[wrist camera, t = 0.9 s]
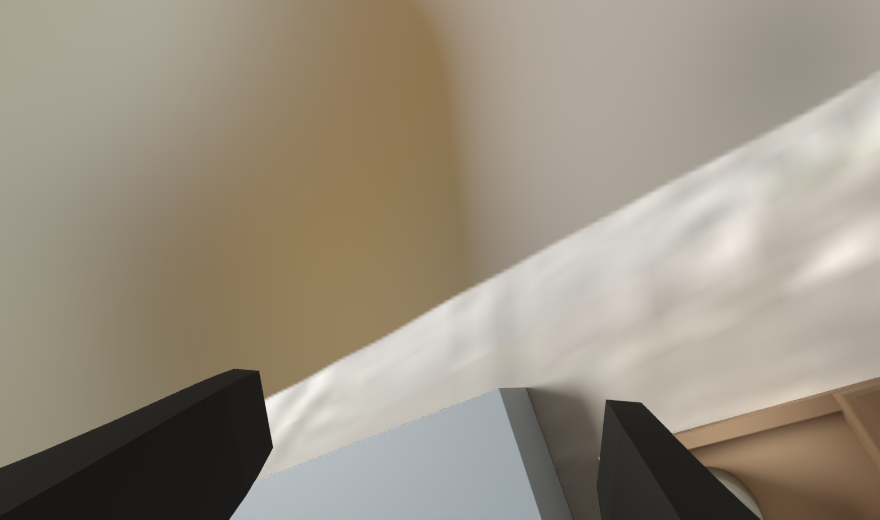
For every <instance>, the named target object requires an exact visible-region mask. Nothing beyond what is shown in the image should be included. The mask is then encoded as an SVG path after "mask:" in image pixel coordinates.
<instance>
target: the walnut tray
mask: <svg viewBox="0 0 880 520" xmlns="http://www.w3.org/2000/svg"><path fill="white" fill-rule="evenodd" d="M673 435H674V436H675V437H676V438H677V439H678V440H679V441H680V442H681V443H682V444H683V445H684V446H685V447H686V448H687V449H688V450H689V451H690V452H691V453H692V454H693V455H694V456H695V457H696V458H697V459H698V460H699V461H700V462H701V463H702V464H703V465H704V466H705V467H706V468H707V469H708V470H709V471H710V472H711V473H712V474H713V475H714V476H715V477H716V478H717V479H718V480H719V481H720V482H721V483H722V484H723V485H724V486H725V487H727V488H728V489H729V490H730V491H731V492H732V493H733V494H734V495H735V496H736V497H737V498H738V499H739V500H740V501H741V502H742V503H743V504H745V505H746V506H747V507H748V508H749V509H750V510H751V511H752V512H753V513H754V514H755V515H757V516H758V517H759V518H760V519H761V520H880V377H878V378H874V379H870V380H867V381H863V382H860V383H856V384H852V385H849V386H845V387H841V388H838V389H834V390H830V391H827V392H823V393H819V394H816V395H812V396H808V397H805V398H801V399H798V400H794V401H790V402H787V403H783V404H779V405H776V406H772V407H768V408H765V409H761V410H757V411H754V412H750V413H746V414H743V415H739V416H736V417H732V418H728V419H725V420H721V421H717V422H714V423H710V424H706V425H703V426H699V427H695V428H692V429H688V430H685V431H681V432H677V433H674V434H673ZM598 459H599V461H600V456H599V457H598Z"/></svg>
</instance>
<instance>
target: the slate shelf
mask: <svg viewBox="0 0 880 520" xmlns="http://www.w3.org/2000/svg"><path fill="white" fill-rule="evenodd" d="M230 520H573V518H572V515H571V512H570V509H569V506H568V504H567V501H566V498H565V495H564V492H563V490H562V487H561V484H560V481H559V478H558V476H557V473H556V470H555V467H554V464H553V462H552V459H551V456H550V453H549V450H548V448H547V445H546V442H545V439H544V436H543V434H542V431H541V428H540V425H539V422H538V420H537V417H536V414H535V411H534V408H533V405H532V403H531V400H530V397H529V394H528V391H527V389H526V388H498V389H496V390H493V391H490V392H488V393H485V394H483V395H480V396H477V397H475V398H472V399H469V400H467V401H464V402H462V403H459V404H456V405H454V406H451V407H448V408H446V409H443V410H441V411H438V412H435V413H433V414H430V415H427V416H425V417H422V418H420V419H417V420H414V421H412V422H409V423H406V424H404V425H401V426H399V427H396V428H393V429H391V430H388V431H385V432H383V433H380V434H378V435H375V436H372V437H370V438H367V439H364V440H362V441H359V442H357V443H354V444H351V445H349V446H346V447H344V448H341V449H338V450H336V451H333V452H330V453H328V454H325V455H323V456H320V457H317V458H315V459H312V460H309V461H307V462H304V463H302V464H299V465H296V466H294V467H291V468H288V469H286V470H283V471H281V472H278V473H275V474H273V475H270V476H267V477H265V478H262V479H260V480H257V481H255V482H254V484H253V485H252V487H251V489H250V490H249V492H248V494H247V495H246V497H245V498H244V500H243V501H242V503H241V504H240V505H239V507H238V508H237V510H236V511H235V513H234V514H233V515H232V517H231V518H230Z"/></svg>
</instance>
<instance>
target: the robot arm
mask: <svg viewBox="0 0 880 520" xmlns="http://www.w3.org/2000/svg"><path fill="white" fill-rule="evenodd" d="M272 449H273V445H272V439H271V434H270V428H269V423H268V417H267V412H266V406H265V401H264V395H263V390H262V385H261V379H260V374H259V371H254V370H242V369H233V370H230V371H227V372H224V373H221V374H218V375H216V376H213V377H211V378H209V379H206V380H204V381H202V382H199V383H197V384H194V385H192V386H190V387H188V388H186V389H183V390H181V391H179V392H176V393H174V394H172V395H170V396H168V397H165V398H164V399H161V400H159V401H157V402H154V403H152V404H150V405H148V406H145V407H143V408H141V409H139V410H137V411H135V412H132V413H130V414H128V415H125V416H123V417H121V418H119V419H117V420H114V421H112V422H110V423H108V424H105V425H103V426H100V427H98V428H96V429H93V430H91V431H89V432H86V433H84V434H82V435H79V436H77V437H75V438H72V439H70V440H68V441H65V442H63V443H61V444H58V445H56V446H54V447H51V448H49V449H47V450H44V451H42V452H39V453H37V454H34V455H32V456H30V457H27V458H25V459H22V460H20V461H17V462H14V463H12V464H9V465H7V466H4V467H2V468H0V520H230V518H231V517H232V515H233V514H234V513H235V511H236V510H237V508H238V507H239V505H240V504H241V503H242V501H243V500H244V498H245V497H246V495H247V494H248V492H249V490H250V489H251V487H252V485H253V484H254V482H255V480H256V478H257V477H258V475H259V473H260V471H261V470H262V468H263V466H264V464H265V462H266V460H267V458H268V456H269V454H270V453H271V451H272ZM597 491H598V498H599V505H600V511H601V518H602V520H761V519H760V518H759V517H758V516H757V515H755V514H754V513H753V512H752V511H751V510H750V509H749V508H748V507H747V506H746V505H745V504H743V503H742V502H741V501H740V500H739V499H738V498H737V497H736V496H735V495H734V494H733V493H732V492H731V491H730V490H729V489H728V488H727V487H725V486H724V485H723V484H722V483H721V482H720V481H719V480H718V479H717V478H716V477H715V476H714V475H713V474H712V473H711V472H710V471H709V470H708V469H707V468H706V467H705V466H704V465H703V464H702V463H701V462H700V461H699V460H698V459H697V458H696V457H695V456H694V455H693V454H692V453H691V452H690V451H689V450H688V449H687V448H686V447H685V446H684V445H683V444H682V443H681V442H680V441H679V440H678V439H677V438H676V437H675V436H674V435H673V434H672V433H671V432H670V431H669V430H668V429H667V428H666V427H665V426H664V425H663V424H662V423H661V422H660V421H659V420H658V419H657V418H656V417H655V416H654V415H653V414H652V413H651V412H650V411H649V410H648V409H647V408H646V407H645V406H644V405H643V404H642V403H640V402H628V401H616V400H606V405H605V415H604V424H603V433H602V443H601V452H600V462H599V471H598V481H597Z"/></svg>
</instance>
